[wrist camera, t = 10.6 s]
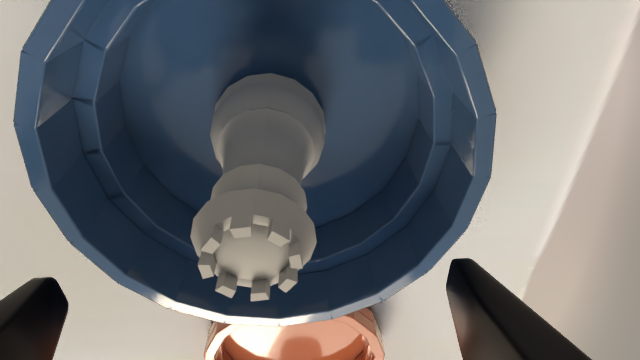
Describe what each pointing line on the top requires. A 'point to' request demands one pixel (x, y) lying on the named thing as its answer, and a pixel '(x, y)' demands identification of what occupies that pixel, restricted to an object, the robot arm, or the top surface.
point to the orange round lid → (299, 340)
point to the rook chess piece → (260, 186)
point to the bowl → (205, 170)
